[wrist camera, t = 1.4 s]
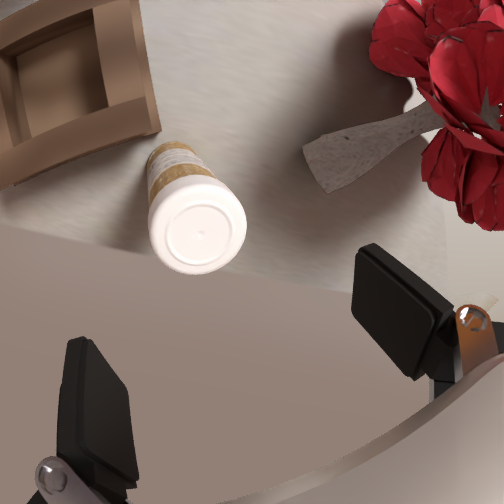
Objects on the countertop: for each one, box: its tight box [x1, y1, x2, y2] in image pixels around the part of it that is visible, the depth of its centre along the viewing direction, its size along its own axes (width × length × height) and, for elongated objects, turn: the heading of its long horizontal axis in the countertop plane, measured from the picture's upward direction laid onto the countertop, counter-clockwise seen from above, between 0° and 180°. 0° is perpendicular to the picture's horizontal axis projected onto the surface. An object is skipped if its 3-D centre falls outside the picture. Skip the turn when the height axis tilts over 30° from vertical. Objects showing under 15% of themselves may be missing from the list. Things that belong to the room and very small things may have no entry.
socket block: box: [0, 0, 162, 190], centre depth 15 cm, size 14×14×5 cm
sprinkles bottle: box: [147, 142, 247, 275], centre depth 19 cm, size 5×4×13 cm
